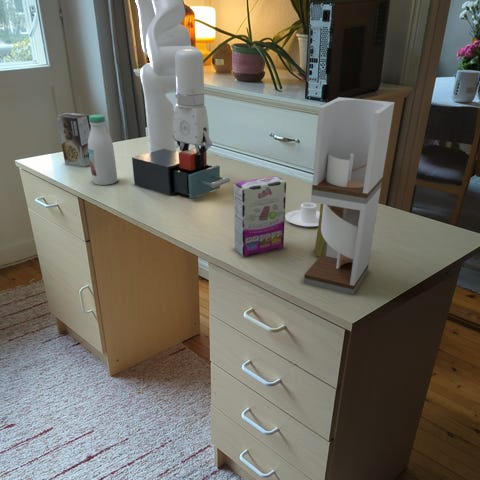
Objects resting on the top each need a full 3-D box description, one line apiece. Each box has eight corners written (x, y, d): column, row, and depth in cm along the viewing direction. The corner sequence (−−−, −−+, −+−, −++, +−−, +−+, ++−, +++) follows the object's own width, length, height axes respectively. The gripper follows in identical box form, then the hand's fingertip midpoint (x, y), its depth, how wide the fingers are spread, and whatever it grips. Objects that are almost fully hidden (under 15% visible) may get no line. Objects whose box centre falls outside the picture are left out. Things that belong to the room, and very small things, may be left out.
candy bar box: (273, 241, 128) (276, 175, 119) (284, 248, 124) (288, 181, 115) (232, 249, 123) (232, 181, 114) (242, 257, 120) (243, 188, 111)
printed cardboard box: (96, 162, 183) (89, 114, 175) (84, 167, 178) (77, 118, 170) (76, 159, 187) (68, 112, 178) (64, 163, 182) (55, 115, 173)
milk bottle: (120, 178, 168) (113, 113, 158) (113, 186, 162) (105, 118, 151) (97, 177, 169) (88, 112, 158) (89, 185, 163) (79, 118, 152)
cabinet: (200, 184, 164) (199, 157, 159) (169, 195, 155) (167, 167, 150) (165, 175, 172) (163, 148, 167) (134, 185, 163) (131, 157, 158)
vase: (311, 248, 124) (317, 190, 116) (337, 248, 125) (343, 190, 117) (317, 259, 119) (323, 200, 111) (343, 259, 119) (351, 199, 112)
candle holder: (277, 215, 142) (278, 200, 140) (315, 209, 146) (316, 194, 144) (298, 231, 133) (299, 215, 130) (338, 225, 137) (340, 209, 134)
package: (179, 167, 152) (178, 152, 150) (195, 162, 157) (194, 147, 154) (190, 170, 150) (189, 155, 147) (206, 165, 154) (206, 150, 152)
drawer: (235, 192, 155) (235, 169, 151) (208, 203, 147) (207, 180, 143) (185, 178, 166) (184, 157, 162) (157, 188, 158) (155, 165, 154)
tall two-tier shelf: (321, 261, 118) (338, 97, 99) (367, 271, 114) (394, 102, 95) (303, 282, 110) (319, 107, 91) (352, 294, 106) (379, 113, 87)
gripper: (159, 98, 145) (163, 163, 155) (204, 106, 136) (206, 174, 146) (178, 94, 150) (181, 157, 160) (222, 102, 141) (223, 168, 151)
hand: (193, 165), depth 153 cm, fingers closed on package, 4 cm apart
